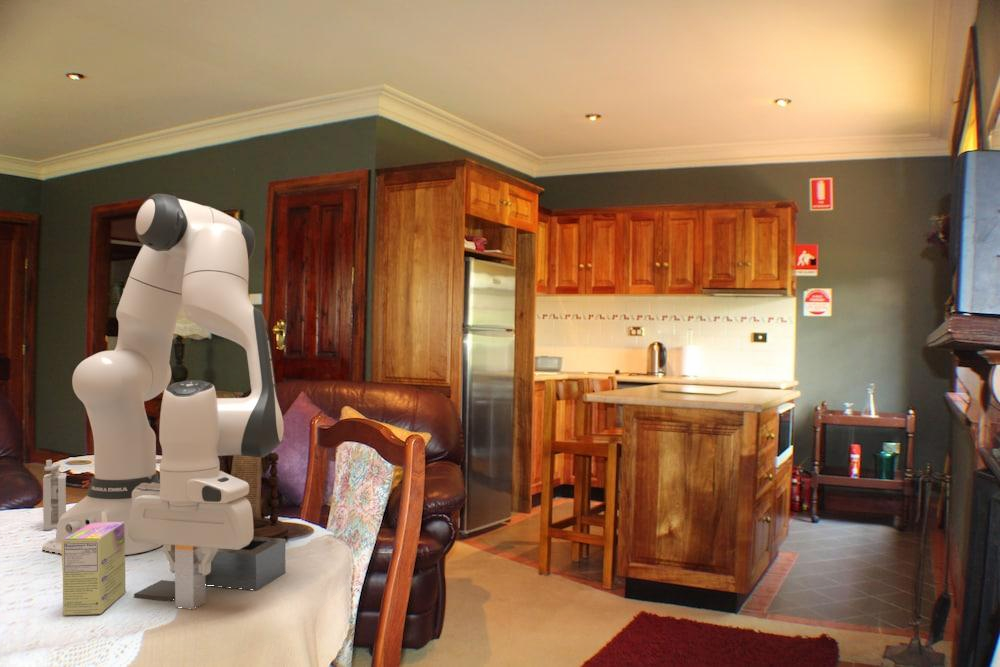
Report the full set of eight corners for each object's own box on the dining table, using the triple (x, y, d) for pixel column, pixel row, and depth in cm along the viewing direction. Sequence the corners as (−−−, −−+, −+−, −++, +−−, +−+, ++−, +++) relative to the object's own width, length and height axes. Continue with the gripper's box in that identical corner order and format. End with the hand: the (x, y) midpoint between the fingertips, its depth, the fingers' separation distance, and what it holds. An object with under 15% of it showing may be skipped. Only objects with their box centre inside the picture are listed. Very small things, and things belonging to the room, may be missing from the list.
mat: (134, 597, 131) (134, 593, 131) (161, 583, 137) (161, 580, 137) (172, 600, 129) (172, 597, 129) (198, 586, 136) (198, 583, 136)
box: (90, 593, 133) (89, 522, 132) (126, 592, 133) (125, 521, 133) (61, 616, 122) (60, 539, 122) (100, 615, 123) (99, 538, 122)
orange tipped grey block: (175, 608, 126) (174, 544, 126) (187, 601, 129) (187, 538, 129) (193, 609, 125) (193, 545, 125) (205, 602, 128) (205, 540, 128)
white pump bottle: (68, 519, 181) (67, 453, 181) (65, 529, 172) (65, 459, 172) (46, 521, 179) (46, 454, 179) (43, 532, 171) (42, 461, 170)
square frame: (202, 586, 136) (202, 550, 136) (234, 568, 146) (234, 535, 146) (256, 590, 134) (256, 554, 134) (285, 572, 144) (285, 538, 144)
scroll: (200, 552, 156) (199, 448, 156) (228, 531, 171) (227, 437, 171) (275, 552, 156) (275, 449, 156) (297, 532, 171) (296, 438, 170)
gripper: (118, 486, 126) (119, 574, 126) (236, 492, 121) (237, 584, 122) (145, 478, 132) (145, 562, 132) (258, 484, 128) (258, 571, 128)
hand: (190, 572), depth 127 cm, fingers closed on orange tipped grey block, 3 cm apart
